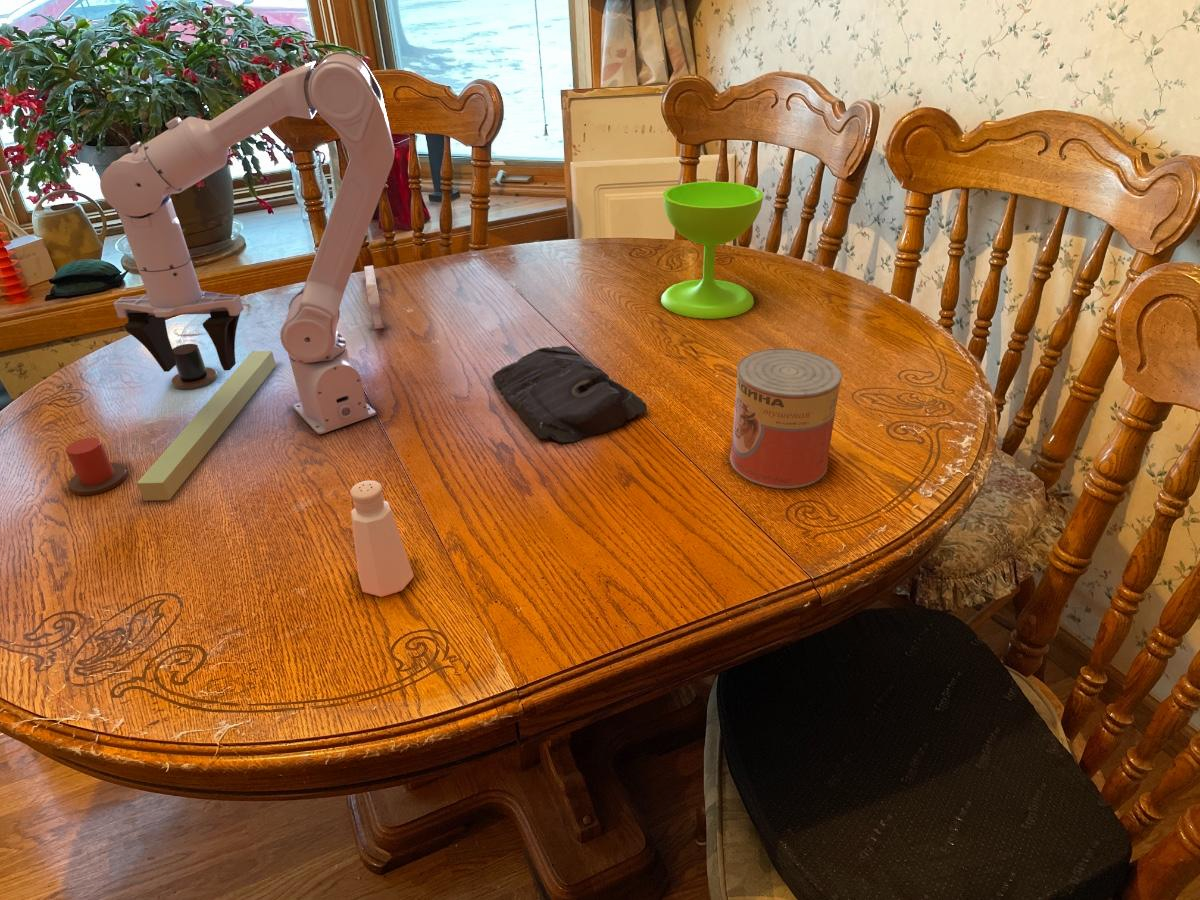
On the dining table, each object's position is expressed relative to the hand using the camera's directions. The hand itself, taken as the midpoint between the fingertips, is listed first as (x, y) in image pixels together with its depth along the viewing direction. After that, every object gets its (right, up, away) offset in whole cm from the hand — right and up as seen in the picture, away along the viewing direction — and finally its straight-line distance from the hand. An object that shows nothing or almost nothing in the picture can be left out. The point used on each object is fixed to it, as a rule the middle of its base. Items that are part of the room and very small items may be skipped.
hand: (200, 367), depth 98 cm
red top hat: (-9, -14, -6) cm, 18 cm away
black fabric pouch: (+46, -3, +8) cm, 47 cm away
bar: (0, -7, +5) cm, 8 cm away
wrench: (+12, +14, +37) cm, 41 cm away
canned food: (+72, -12, -6) cm, 73 cm away
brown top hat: (-9, 0, +15) cm, 18 cm away
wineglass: (+69, +15, +36) cm, 79 cm away
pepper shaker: (+30, -23, -22) cm, 43 cm away
